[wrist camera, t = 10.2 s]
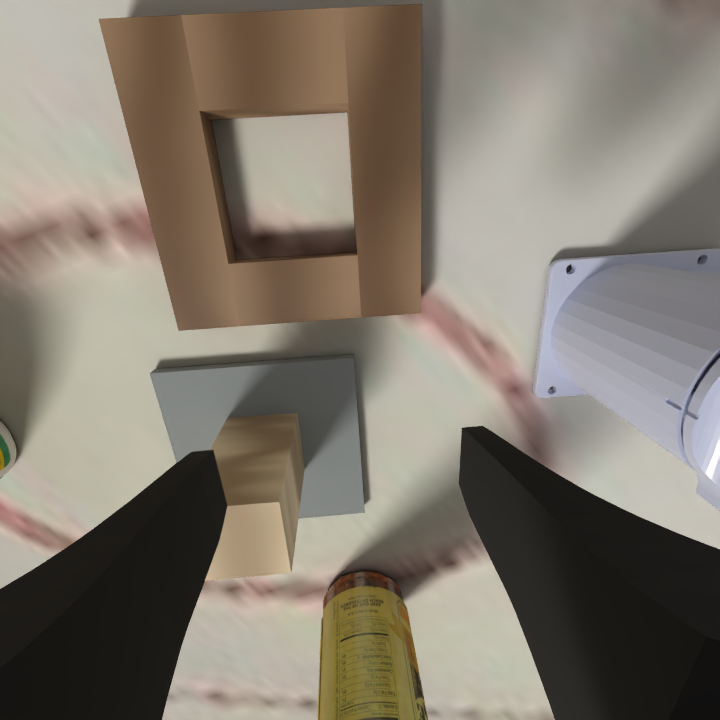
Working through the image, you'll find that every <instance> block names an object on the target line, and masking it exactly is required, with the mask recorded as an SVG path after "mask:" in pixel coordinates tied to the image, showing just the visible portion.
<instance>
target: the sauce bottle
mask: <svg viewBox="0 0 720 720" xmlns="http://www.w3.org/2000/svg"><path fill="white" fill-rule="evenodd" d="M323 609H324V611H323V618H322V621H321V641H320V670H319V696H318V720H428V717H427V712H426V708H425V702H424V696H423V691H422V685H421V680H420V675H419V670H418V664H417V659H416V653H415V648H414V643H413V638H412V633H411V627H410V622H409V616H408V611H407V607H406V606H405V604H404V602H403V598H402V594H401V591H400V588H399V586H398V585H397V584H396V582H395V581H393V580H392V578H388V577H386V576H384V575H382V574H380V573H377V572H368V571H365V572H363V571H360V572H356V573H350V574H347V575H344V576H341V577H340V578H339V579H338V580H337V581H336V582H335V583H334V584H333V585H332V586H331V587H330V589H329V590H328V592H327V593H326V596H325V597H324V603H323Z"/></svg>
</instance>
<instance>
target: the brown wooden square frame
mask: <svg viewBox="0 0 720 720" xmlns="http://www.w3.org/2000/svg"><path fill="white" fill-rule="evenodd" d="M99 22H100V26H101V30H102V34H103V38H104V42H105V46H106V50H107V54H108V57H109V61H110V65H111V69H112V73H113V77H114V81H115V85H116V89H117V92H118V96H119V100H120V104H121V108H122V112H123V116H124V120H125V124H126V127H127V131H128V135H129V139H130V143H131V147H132V151H133V155H134V159H135V163H136V166H137V170H138V174H139V178H140V182H141V186H142V190H143V194H144V198H145V201H146V205H147V209H148V213H149V217H150V221H151V225H152V229H153V233H154V236H155V240H156V244H157V248H158V252H159V256H160V260H161V264H162V268H163V272H164V275H165V279H166V283H167V287H168V291H169V295H170V299H171V303H172V307H173V310H174V314H175V318H176V322H177V326H178V330H179V331H181V330H194V329H208V328H222V327H236V326H249V325H263V324H277V323H291V322H304V321H318V320H332V319H346V318H359V317H373V316H387V315H401V314H414V313H421V142H422V4H409V5H388V6H366V7H345V8H323V9H302V10H280V11H258V12H237V13H215V14H194V15H172V16H151V17H129V18H107V19H99ZM343 112H348V128H349V145H350V161H351V177H352V194H353V210H354V227H355V243H356V252H351V253H336V254H321V255H306V256H291V257H276V258H261V259H246V260H237V259H236V254H235V248H234V243H233V237H232V231H231V226H230V220H229V215H228V209H227V204H226V198H225V193H224V187H223V182H222V176H221V171H220V165H219V160H218V154H217V149H216V143H215V137H214V132H213V126H212V121H211V120H216V119H234V118H253V117H271V116H289V115H307V114H325V113H343Z"/></svg>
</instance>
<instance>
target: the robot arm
mask: <svg viewBox="0 0 720 720" xmlns="http://www.w3.org/2000/svg"><path fill="white" fill-rule="evenodd" d="M699 257H700V260H699V262H698V263H697V260H698V258H699ZM570 264H571V267H572V268H571V270H570V271H569V272H568V273H567V272H566V268H567V266H568V265H570ZM550 387H553V388H552V390H551V391H548V389H549V388H550ZM533 393H534V394H535V395H536V396H537V397H538V398H553V397H565V396H577V395H590V396H591V397H593V398H594V399H595V400H597V401H598V402H600V403H601V404H602V405H604V406H605V407H607V408H608V409H609V410H611V411H612V412H613V413H615V414H616V415H618V416H619V417H620V418H622V419H623V420H625V421H626V422H627V423H629V424H630V425H632V426H633V427H634V428H636V429H637V430H639V431H640V432H641V433H643V434H644V435H645V436H647V437H648V438H650V439H651V440H652V441H654V442H655V443H657V444H658V445H659V446H661V447H662V448H664V449H665V450H666V451H668V452H669V453H671V454H672V455H673V456H675V457H676V458H677V459H679V460H680V461H682V462H683V463H684V464H686V465H687V466H689V467H690V468H691V469H693V470H694V471H695V472H696V473H697V477H698V485H697V489H696V493H697V494H698V495H699V496H701V497H702V498H703V499H705V500H706V501H707V502H708V503H710V504H711V505H712V506H714V507H715V508H716V509H717V510H719V511H720V248H712V249H698V250H683V251H668V252H654V253H639V254H625V255H610V256H596V257H581V258H567V259H557V260H555V261H553V262H552V263H551V265H550V266H549V269H548V277H547V284H546V292H545V299H544V307H543V314H542V322H541V330H540V337H539V345H538V352H537V360H536V367H535V375H534V383H533ZM459 485H460V488H461V491H462V494H463V497H464V501H465V503H466V506H467V509H468V512H469V515H470V517H471V519H472V521H473V523H474V526H475V528H476V530H477V532H478V534H479V536H480V538H481V540H482V542H483V544H484V546H485V548H486V550H487V552H488V554H489V556H490V559H491V561H492V563H493V565H494V567H495V569H496V571H497V573H498V575H499V577H500V579H501V581H502V583H503V585H504V587H505V589H506V591H507V593H508V596H509V598H510V600H511V602H512V605H513V607H514V609H515V612H516V614H517V617H518V619H519V622H520V625H521V627H522V630H523V633H524V635H525V638H526V640H527V643H528V646H529V648H530V651H531V653H532V656H533V659H534V662H535V664H536V667H537V670H538V673H539V676H540V678H541V681H542V684H543V687H544V689H545V692H546V695H547V698H548V700H549V703H550V706H551V709H552V712H553V715H554V718H555V720H720V549H717V548H714V547H712V546H709V545H706V544H704V543H701V542H699V541H696V540H693V539H691V538H688V537H686V536H683V535H681V534H678V533H676V532H673V531H671V530H669V529H666V528H664V527H662V526H659V525H657V524H655V523H652V522H650V521H648V520H645V519H643V518H641V517H639V516H636V515H634V514H632V513H630V512H628V511H625V510H623V509H621V508H619V507H617V506H615V505H613V504H611V503H609V502H607V501H605V500H603V499H601V498H599V497H597V496H595V495H593V494H592V493H590V492H588V491H586V490H584V489H582V488H580V487H579V486H577V485H575V484H573V483H572V482H570V481H568V480H566V479H565V478H563V477H561V476H560V475H558V474H556V473H555V472H553V471H551V470H550V469H548V468H546V467H545V466H543V465H542V464H540V463H538V462H537V461H535V460H534V459H532V458H531V457H529V456H528V455H526V454H525V453H523V452H521V451H520V450H518V449H517V448H516V447H514V446H513V445H511V444H510V443H508V442H507V441H505V440H504V439H502V438H501V437H499V436H498V435H496V434H495V433H493V432H492V431H490V430H488V429H487V428H485V427H483V426H477V427H465V428H462V438H461V456H460V475H459ZM226 510H227V502H226V498H225V494H224V490H223V486H222V482H221V478H220V474H219V470H218V466H217V462H216V458H215V454H214V450H204V451H193V452H191V453H189V454H188V455H186V456H185V457H184V458H182V459H181V460H180V461H179V462H177V463H176V464H175V465H174V466H172V467H171V468H170V469H169V470H168V471H166V472H165V473H164V474H163V475H161V476H160V477H159V478H158V479H157V480H155V481H154V482H153V483H152V484H150V485H149V486H148V487H147V488H146V489H144V490H143V491H142V492H141V493H139V494H138V495H137V496H136V497H134V498H133V499H132V500H131V501H129V502H128V503H127V504H126V505H124V506H123V507H122V508H120V509H119V510H118V511H116V512H115V513H114V514H112V515H111V516H110V517H108V518H107V519H106V520H104V521H103V522H102V523H100V524H99V525H98V526H97V527H95V528H94V529H93V530H91V531H90V532H88V533H87V534H86V535H84V536H83V537H81V538H80V539H79V540H77V541H76V542H74V543H73V544H71V545H70V546H68V547H67V548H65V549H64V550H62V551H61V552H59V553H58V554H56V555H55V556H53V557H52V558H50V559H49V560H47V561H46V562H44V563H43V564H41V565H39V566H38V567H36V568H35V569H33V570H32V571H30V572H28V573H27V574H25V575H23V576H22V577H20V578H18V579H16V580H15V581H13V582H11V583H10V584H8V585H6V586H5V587H3V588H1V589H0V720H162V717H163V713H164V709H165V705H166V701H167V697H168V693H169V689H170V686H171V682H172V678H173V675H174V671H175V667H176V664H177V660H178V656H179V653H180V649H181V646H182V643H183V640H184V637H185V634H186V630H187V627H188V625H189V622H190V619H191V617H192V614H193V611H194V608H195V606H196V603H197V600H198V598H199V595H200V592H201V590H202V587H203V584H204V582H205V579H206V576H207V574H208V571H209V568H210V565H211V563H212V560H213V557H214V554H215V552H216V549H217V546H218V543H219V540H220V536H221V532H222V528H223V524H224V519H225V515H226Z"/></svg>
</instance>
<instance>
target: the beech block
mask: <svg viewBox="0 0 720 720" xmlns="http://www.w3.org/2000/svg"><path fill="white" fill-rule="evenodd" d="M210 450H214V454H215V458H216V462H217V466H218V470H219V474H220V478H221V482H222V486H223V490H224V494H225V498H226V502H227V510H226V515H225V519H224V524H223V528H222V532H221V536H220V540H219V543H218V546H217V549H216V552H215V554H214V557H213V560H212V563H211V565H210V568H209V571H208V574H207V576H206V579H205V580H217V579H228V578H240V577H251V576H263V575H274V574H286V573H291V571H292V563H293V556H294V548H295V540H296V532H297V525H298V517H299V509H300V501H301V494H302V486H303V478H304V470H305V468H304V461H303V453H302V445H301V438H300V430H299V422H298V415H297V413H290V414H276V415H262V416H248V417H234V418H227V419H226V421H225V423H224V425H223V427H222V428H221V430H220V432H219V434H218V436H217V438H216V440H215V441H214V443H213V445H212V447H211V449H210Z"/></svg>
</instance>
